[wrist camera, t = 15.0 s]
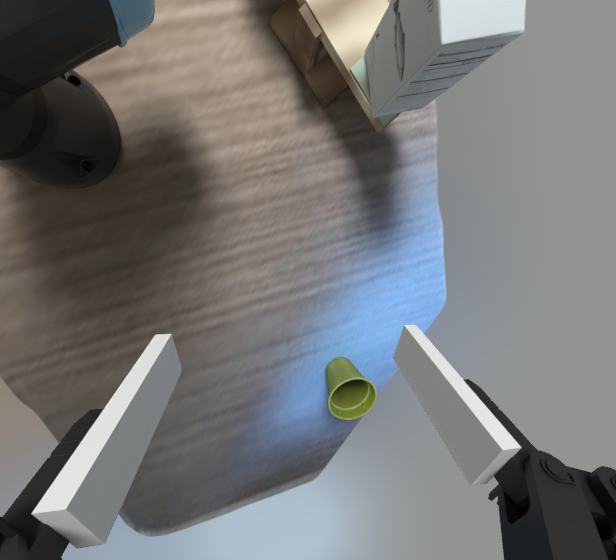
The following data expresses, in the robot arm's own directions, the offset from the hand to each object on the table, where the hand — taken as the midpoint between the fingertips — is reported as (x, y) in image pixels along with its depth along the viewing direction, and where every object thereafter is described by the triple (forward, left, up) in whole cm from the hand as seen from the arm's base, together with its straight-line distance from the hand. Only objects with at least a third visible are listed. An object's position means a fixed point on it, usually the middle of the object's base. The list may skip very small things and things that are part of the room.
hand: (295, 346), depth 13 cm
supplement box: (+13, +25, -20) cm, 34 cm away
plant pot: (+14, -24, -28) cm, 40 cm away
